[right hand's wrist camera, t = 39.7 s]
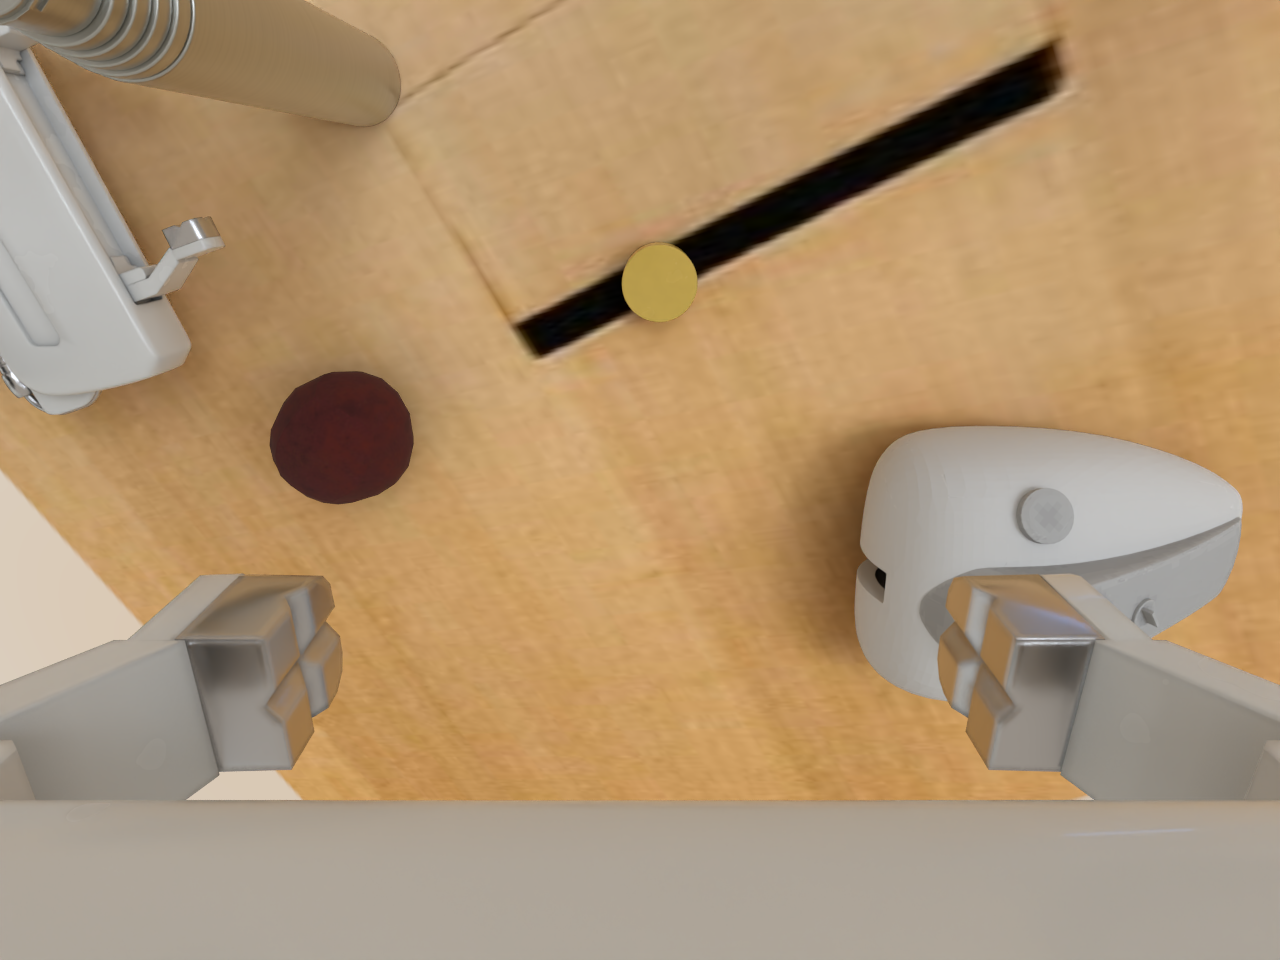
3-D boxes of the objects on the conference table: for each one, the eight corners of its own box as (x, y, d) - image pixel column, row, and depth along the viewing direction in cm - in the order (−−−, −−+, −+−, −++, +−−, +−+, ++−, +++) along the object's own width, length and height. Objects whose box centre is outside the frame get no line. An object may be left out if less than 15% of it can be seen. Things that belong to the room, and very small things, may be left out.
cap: (699, 311, 44) (701, 316, 42) (628, 321, 44) (627, 327, 42) (690, 236, 42) (693, 239, 41) (617, 247, 42) (616, 250, 41)
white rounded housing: (980, 730, 55) (1092, 912, 41) (752, 543, 49) (796, 683, 36) (1249, 520, 48) (1487, 653, 35) (1024, 279, 43) (1202, 326, 29)
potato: (284, 438, 46) (226, 480, 40) (339, 333, 44) (286, 360, 38) (392, 499, 48) (353, 549, 41) (450, 400, 46) (419, 437, 39)
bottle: (366, 145, 41) (4, 100, 18) (298, 79, 39) (-184, -61, 16) (418, 80, 39) (106, -59, 16) (350, 10, 38) (-90, -247, 15)
